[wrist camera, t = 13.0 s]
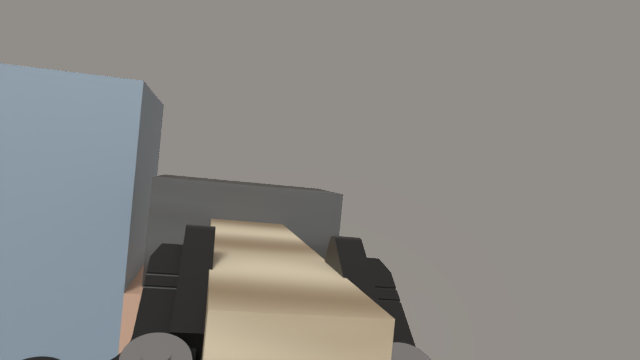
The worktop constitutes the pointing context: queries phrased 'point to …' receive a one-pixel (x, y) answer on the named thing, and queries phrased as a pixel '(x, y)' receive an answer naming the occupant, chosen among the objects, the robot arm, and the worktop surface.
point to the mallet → (270, 271)
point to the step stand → (73, 210)
